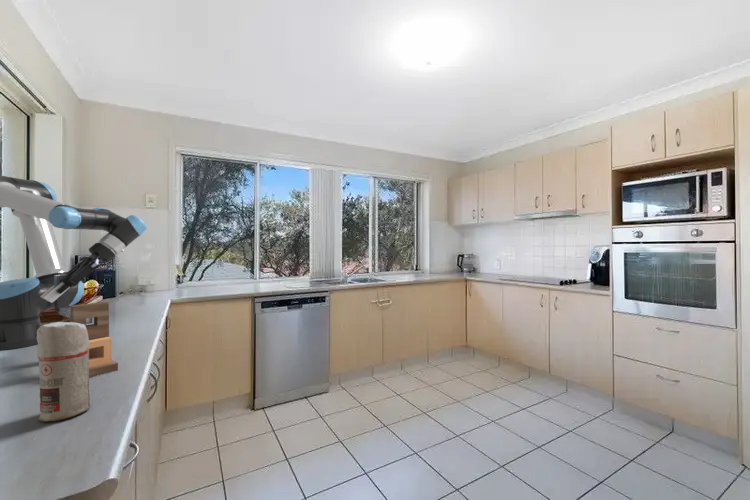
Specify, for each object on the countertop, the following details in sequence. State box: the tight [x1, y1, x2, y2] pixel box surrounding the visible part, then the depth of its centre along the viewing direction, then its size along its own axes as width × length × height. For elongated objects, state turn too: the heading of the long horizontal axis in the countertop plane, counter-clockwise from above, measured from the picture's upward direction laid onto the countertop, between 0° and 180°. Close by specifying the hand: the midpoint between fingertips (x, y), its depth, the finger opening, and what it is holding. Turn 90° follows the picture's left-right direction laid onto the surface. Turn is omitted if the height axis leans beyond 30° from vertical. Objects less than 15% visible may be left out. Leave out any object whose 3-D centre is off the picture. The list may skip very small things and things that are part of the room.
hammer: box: [54, 274, 93, 325], centre depth 106 cm, size 28×3×13 cm, turn 56°
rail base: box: [61, 301, 119, 379], centre depth 101 cm, size 30×8×19 cm, turn 56°
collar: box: [88, 336, 113, 367], centre depth 96 cm, size 2×7×7 cm, turn 146°
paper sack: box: [37, 321, 91, 422], centre depth 72 cm, size 8×8×20 cm
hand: (46, 299), depth 110 cm, fingers closed on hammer, 3 cm apart
